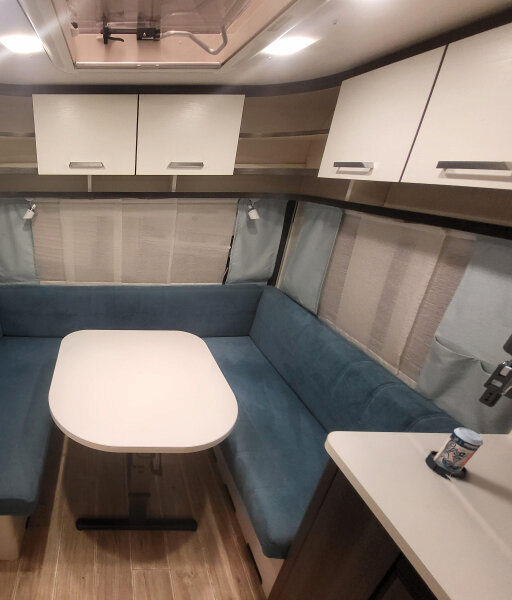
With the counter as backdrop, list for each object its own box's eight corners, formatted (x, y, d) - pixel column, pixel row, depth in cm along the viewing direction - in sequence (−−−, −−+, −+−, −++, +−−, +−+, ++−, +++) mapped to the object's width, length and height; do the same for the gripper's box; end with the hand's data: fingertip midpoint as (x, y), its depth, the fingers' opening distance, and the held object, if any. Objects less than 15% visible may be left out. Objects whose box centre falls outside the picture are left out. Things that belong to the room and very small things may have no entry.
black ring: (448, 459, 80) (452, 453, 79) (470, 484, 74) (475, 478, 73) (418, 454, 81) (422, 448, 80) (438, 478, 75) (443, 472, 74)
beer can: (431, 467, 77) (457, 433, 72) (430, 455, 80) (455, 422, 75) (458, 480, 74) (487, 446, 69) (456, 467, 77) (483, 433, 72)
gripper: (556, 354, 55) (503, 420, 62) (591, 342, 60) (538, 405, 67) (497, 333, 61) (455, 395, 68) (533, 323, 66) (490, 383, 73)
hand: (496, 400), depth 67 cm, fingers open, 8 cm apart
